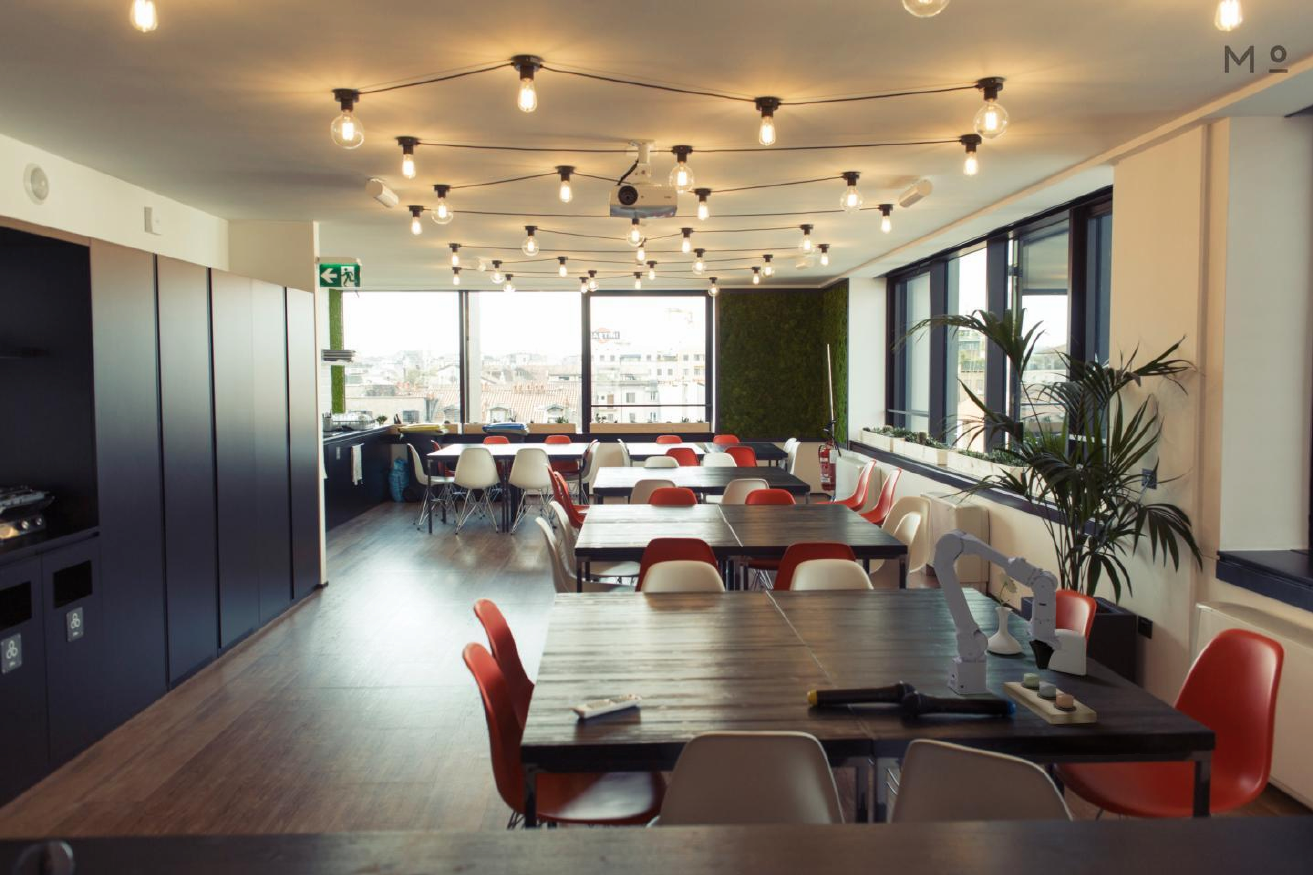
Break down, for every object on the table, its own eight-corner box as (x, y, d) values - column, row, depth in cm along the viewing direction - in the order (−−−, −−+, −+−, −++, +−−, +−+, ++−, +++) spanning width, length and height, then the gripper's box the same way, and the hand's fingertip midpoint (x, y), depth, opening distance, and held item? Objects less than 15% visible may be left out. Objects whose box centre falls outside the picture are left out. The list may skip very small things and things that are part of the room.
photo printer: (1046, 669, 263) (1047, 628, 262) (1051, 665, 266) (1052, 625, 265) (1082, 677, 256) (1084, 634, 255) (1087, 673, 259) (1088, 631, 258)
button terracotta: (1061, 708, 222) (1062, 699, 222) (1053, 702, 226) (1053, 693, 226) (1076, 707, 223) (1077, 698, 223) (1067, 702, 227) (1068, 692, 227)
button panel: (1050, 723, 220) (1051, 712, 220) (1003, 690, 244) (1003, 680, 244) (1096, 722, 221) (1096, 711, 221) (1044, 689, 245) (1044, 679, 245)
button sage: (1028, 686, 238) (1028, 678, 238) (1020, 681, 242) (1021, 673, 242) (1042, 686, 239) (1042, 677, 238) (1034, 681, 243) (1034, 672, 242)
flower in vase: (1025, 658, 273) (1027, 578, 272) (986, 656, 275) (988, 576, 274) (1017, 646, 286) (1019, 569, 284) (980, 644, 288) (981, 568, 287)
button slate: (1044, 697, 230) (1044, 688, 230) (1036, 692, 234) (1036, 683, 234) (1059, 696, 231) (1059, 687, 231) (1050, 691, 235) (1050, 682, 235)
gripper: (1073, 625, 227) (1071, 677, 228) (1043, 610, 242) (1042, 659, 242) (1047, 626, 227) (1045, 678, 227) (1018, 611, 241) (1017, 660, 242)
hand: (1042, 668), depth 235 cm, fingers closed
